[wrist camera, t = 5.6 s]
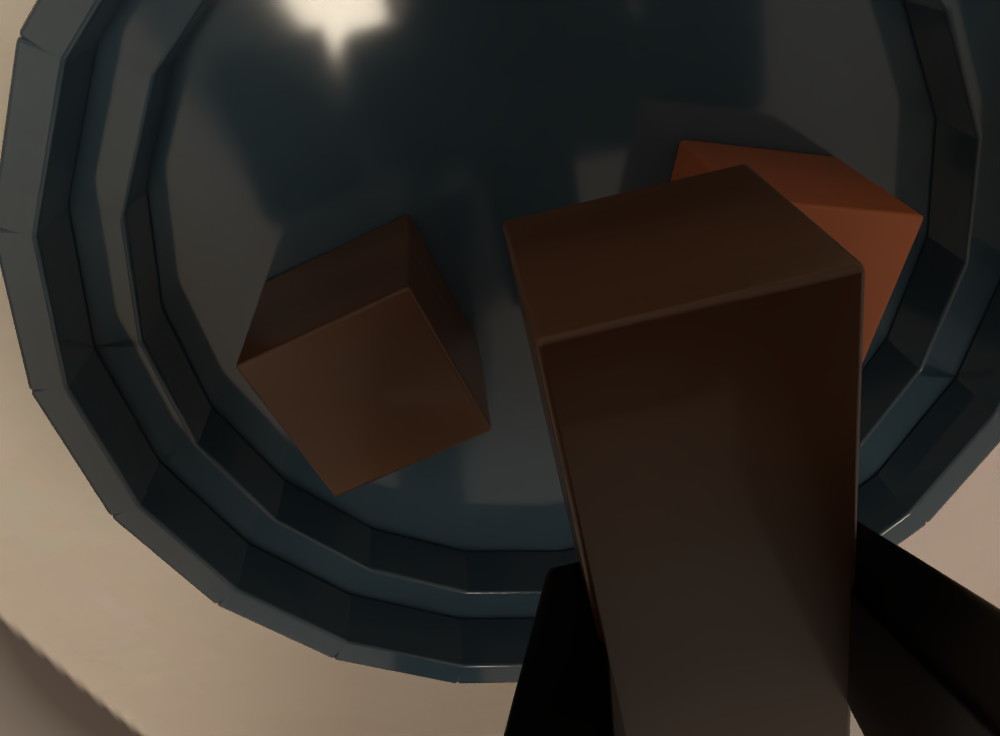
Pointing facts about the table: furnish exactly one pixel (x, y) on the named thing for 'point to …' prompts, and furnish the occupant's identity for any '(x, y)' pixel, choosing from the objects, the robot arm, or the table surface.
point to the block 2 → (827, 209)
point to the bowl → (448, 261)
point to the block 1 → (367, 359)
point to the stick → (704, 444)
